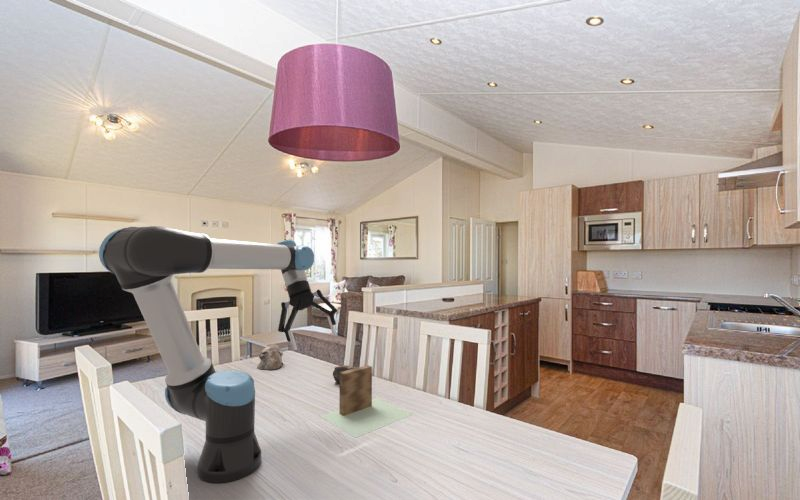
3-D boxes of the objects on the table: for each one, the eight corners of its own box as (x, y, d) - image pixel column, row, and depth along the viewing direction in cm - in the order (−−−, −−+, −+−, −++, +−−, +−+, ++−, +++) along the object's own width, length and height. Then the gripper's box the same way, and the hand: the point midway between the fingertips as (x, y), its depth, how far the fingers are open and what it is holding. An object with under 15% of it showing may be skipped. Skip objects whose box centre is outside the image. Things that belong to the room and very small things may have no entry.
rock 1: (286, 368, 183) (286, 347, 183) (260, 372, 177) (260, 350, 177) (278, 360, 196) (278, 341, 196) (253, 364, 190) (253, 344, 190)
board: (343, 415, 129) (343, 374, 129) (339, 413, 131) (339, 372, 131) (371, 406, 137) (371, 366, 137) (367, 404, 139) (367, 365, 139)
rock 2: (357, 392, 155) (372, 385, 164) (359, 371, 155) (373, 365, 163) (330, 383, 162) (345, 376, 171) (331, 363, 162) (346, 357, 170)
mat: (355, 440, 114) (355, 437, 114) (319, 418, 129) (319, 416, 129) (412, 416, 130) (412, 414, 130) (375, 399, 145) (375, 397, 145)
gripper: (332, 273, 139) (351, 329, 134) (265, 297, 136) (281, 356, 131) (329, 269, 131) (349, 328, 126) (258, 294, 128) (275, 356, 123)
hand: (315, 342), depth 128 cm, fingers open, 13 cm apart
